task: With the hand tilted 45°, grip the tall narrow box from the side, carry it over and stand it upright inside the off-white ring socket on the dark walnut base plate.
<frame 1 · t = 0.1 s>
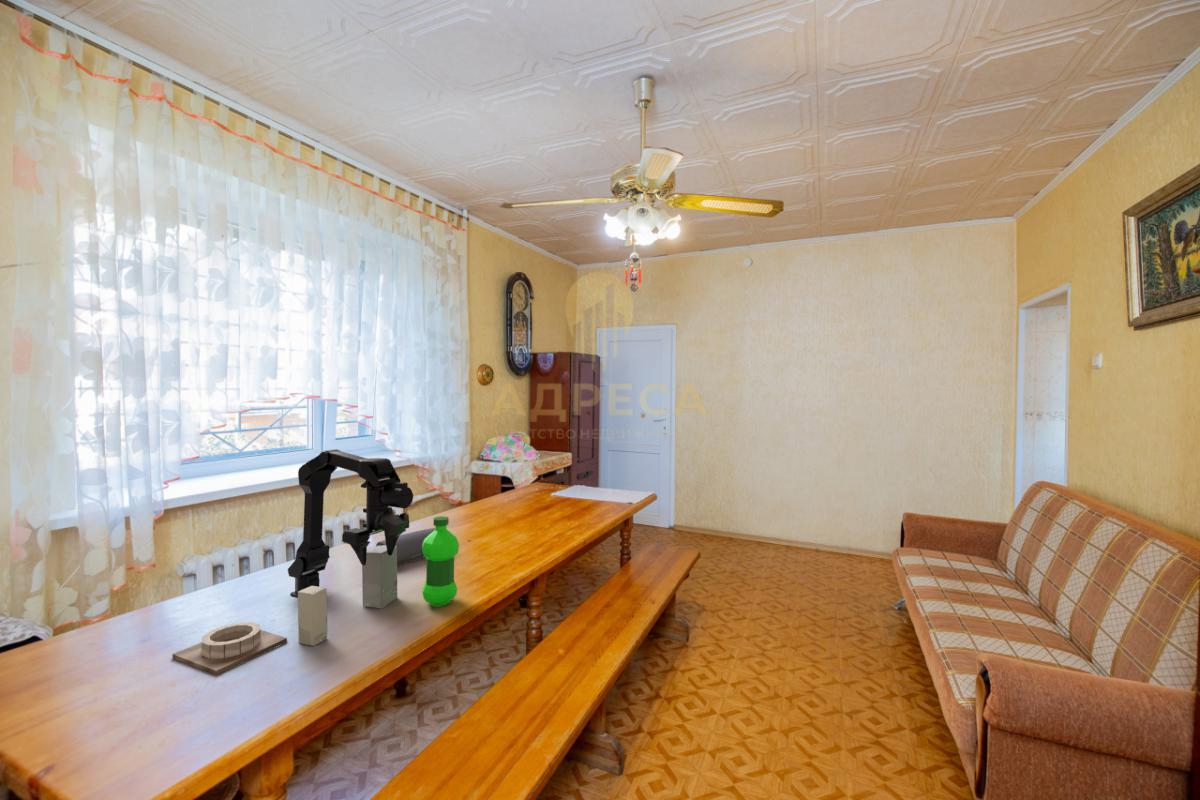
hand: (377, 560, 142), 15 cm above the table, tool pointing down, fingers open, 9 cm apart
box: (312, 641, 126), on the table
bluetooth speaker: (409, 561, 185), on the table
plastic bottle: (439, 603, 149), on the table
ring socket: (231, 649, 121), on the table
skincare box: (379, 602, 149), on the table
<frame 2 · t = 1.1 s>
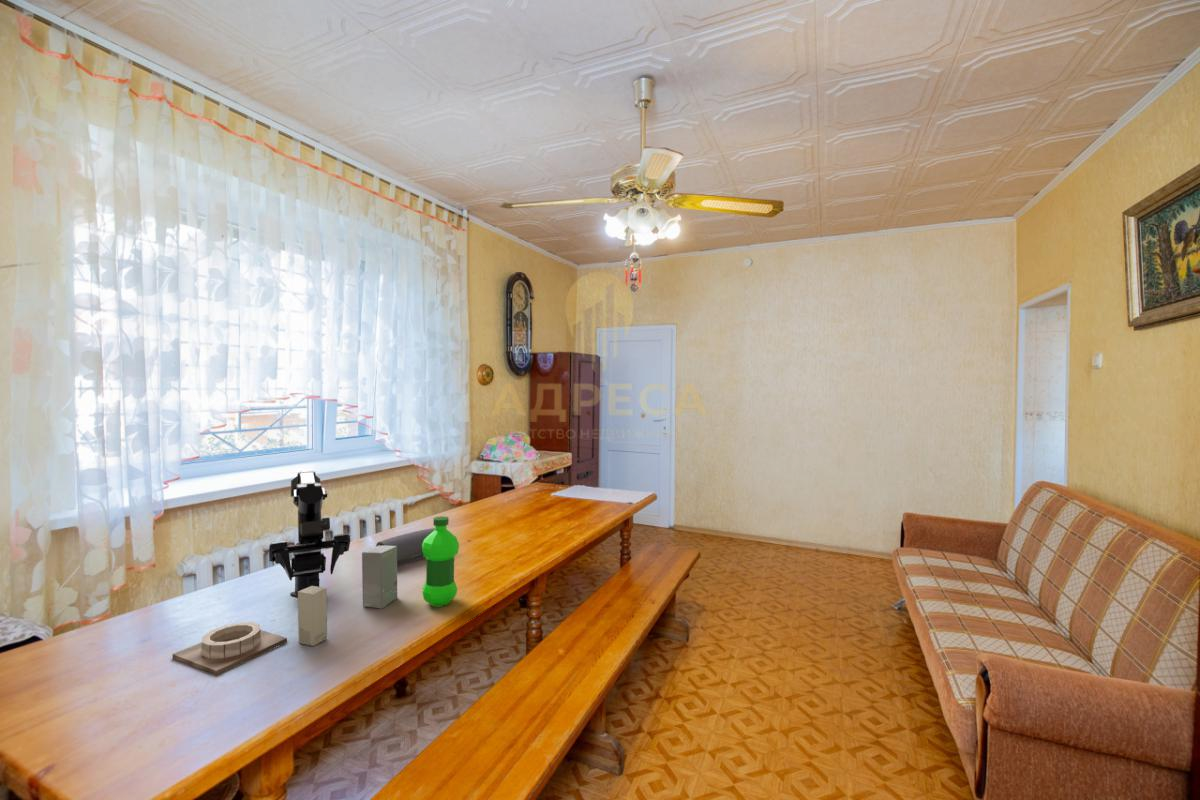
hand: (311, 576, 132), 13 cm above the table, tool tilted 45°, fingers open, 9 cm apart
nothing on the table moved.
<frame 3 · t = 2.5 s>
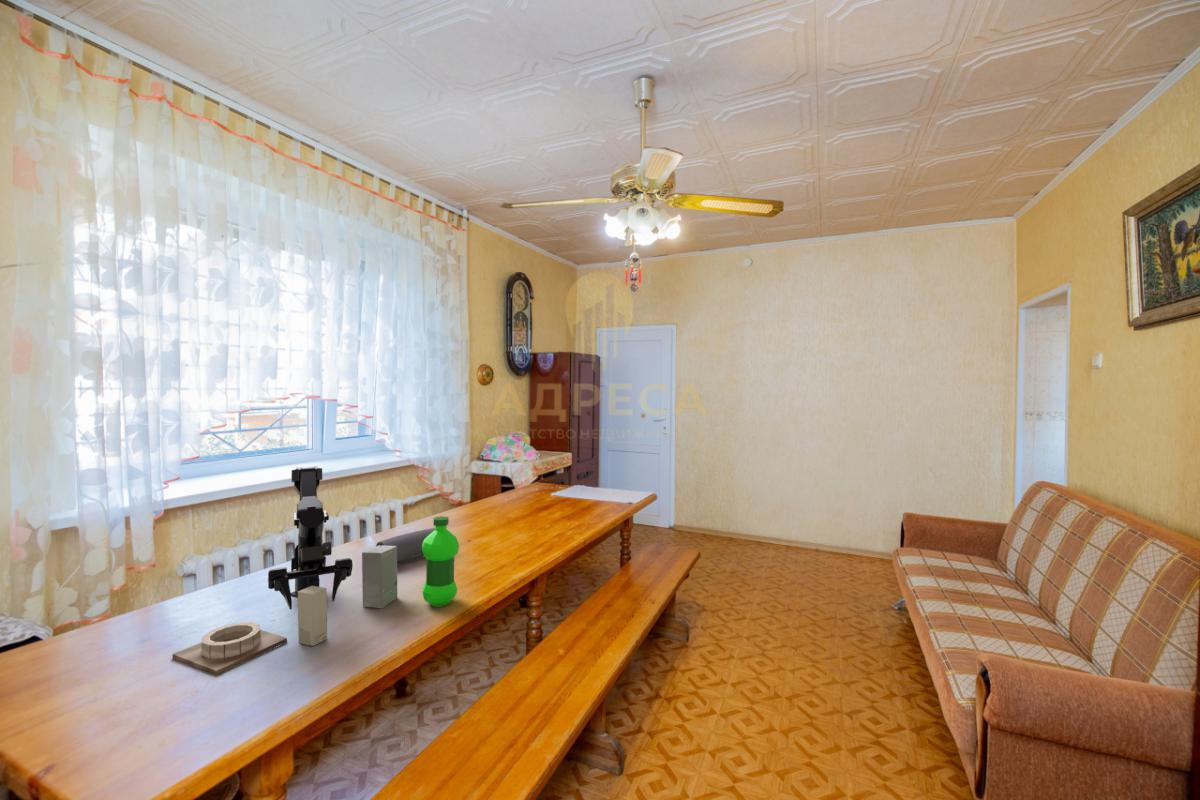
hand: (312, 604, 127), 9 cm above the table, tool tilted 45°, fingers open, 9 cm apart
nothing on the table moved.
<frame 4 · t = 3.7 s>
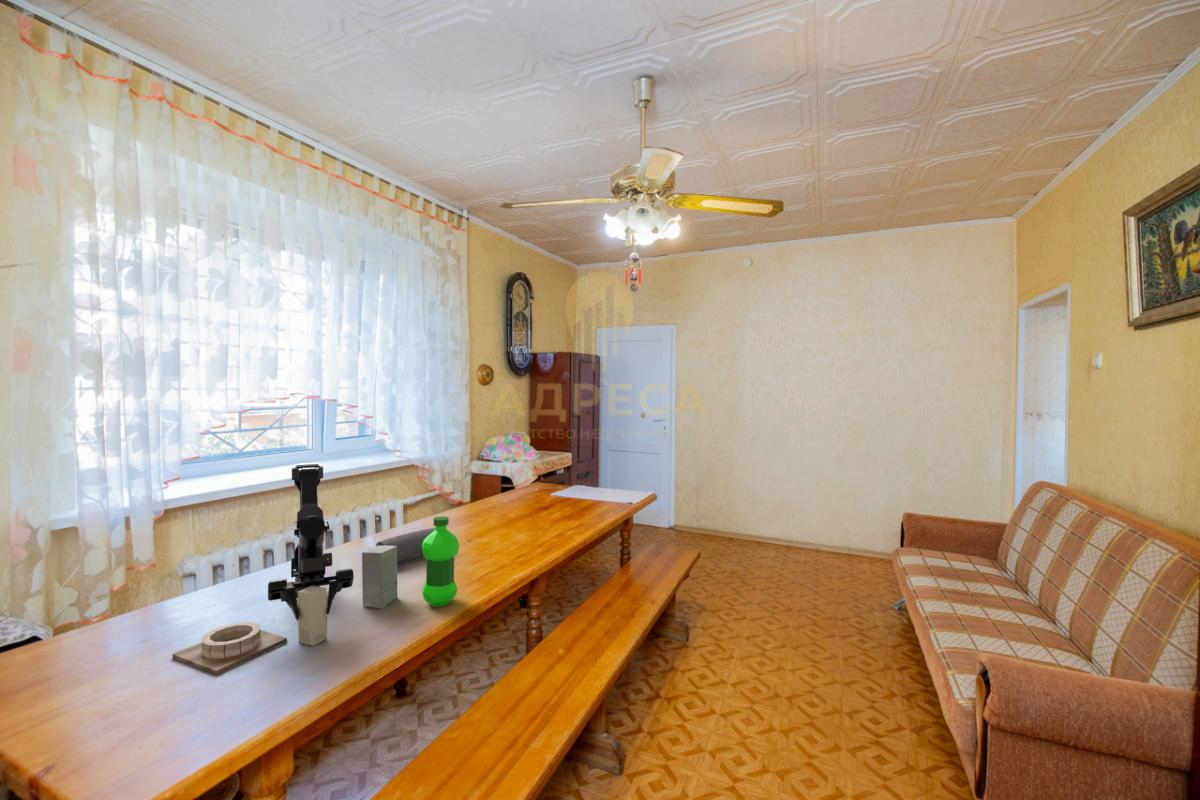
hand: (313, 616, 124), 7 cm above the table, tool tilted 45°, fingers closed on box, 6 cm apart
box: (312, 641, 126), on the table, touching gripper
everything else where it was.
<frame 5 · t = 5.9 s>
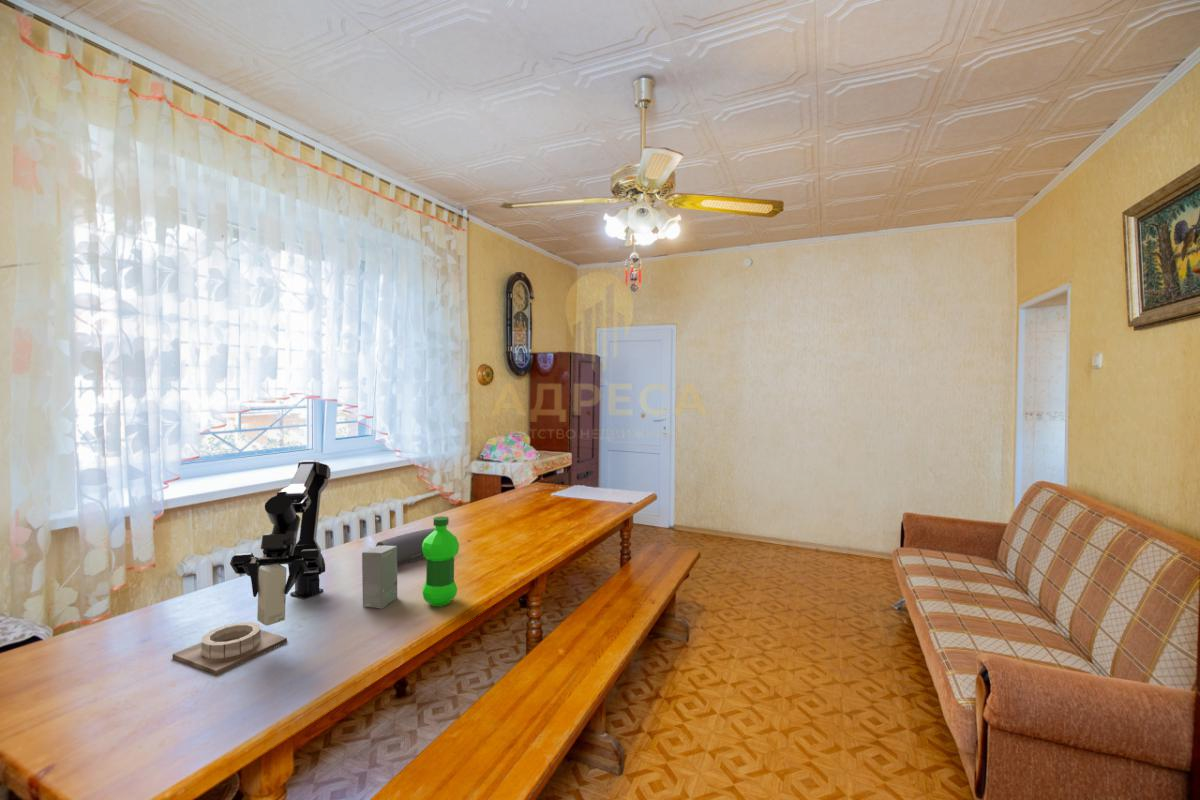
hand: (270, 594, 121), 13 cm above the table, tool tilted 45°, fingers closed on box, 6 cm apart
box: (270, 621, 122), point 6 cm above the table, touching gripper
everything else where it was.
when the fingers open (9 cm above the table, at t = 8.1 s): box stays where it is, resting on ring socket.
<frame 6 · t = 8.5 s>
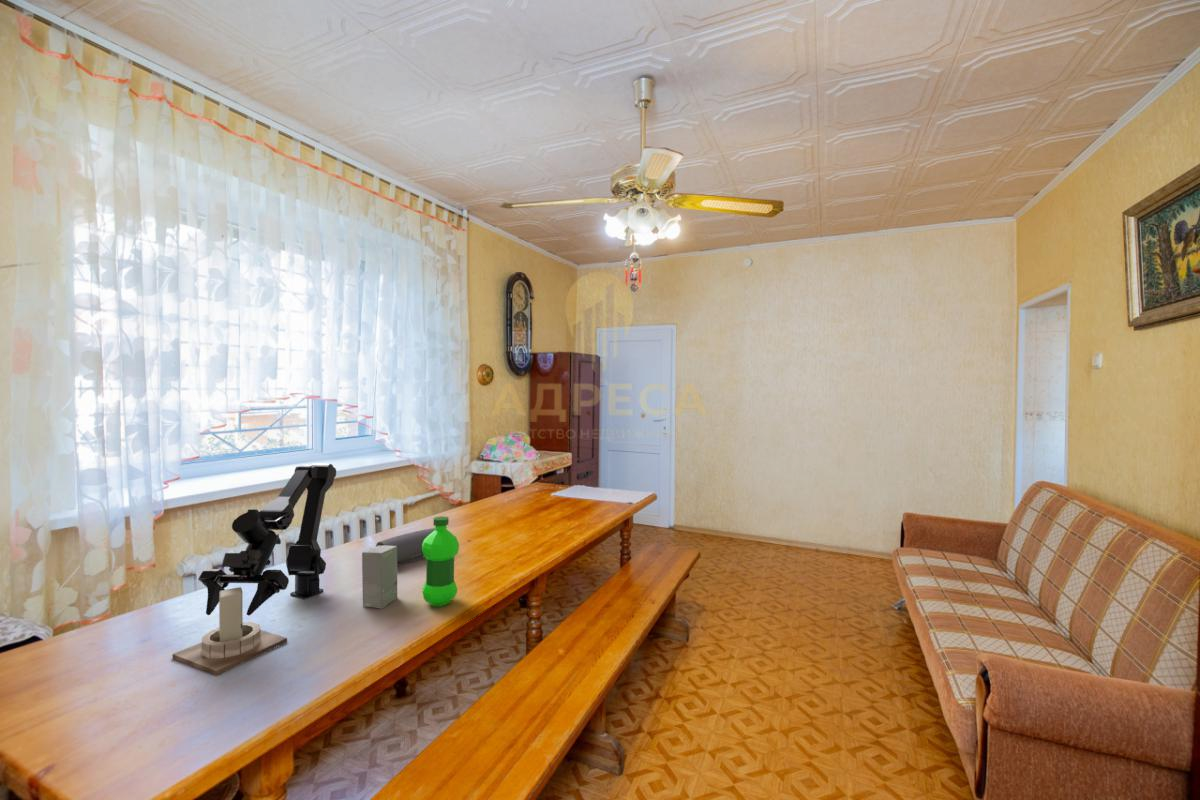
hand: (227, 614, 119), 9 cm above the table, tool tilted 45°, fingers open, 9 cm apart
box: (230, 646, 121), point 1 cm above the table, touching ring socket
everything else where it was.
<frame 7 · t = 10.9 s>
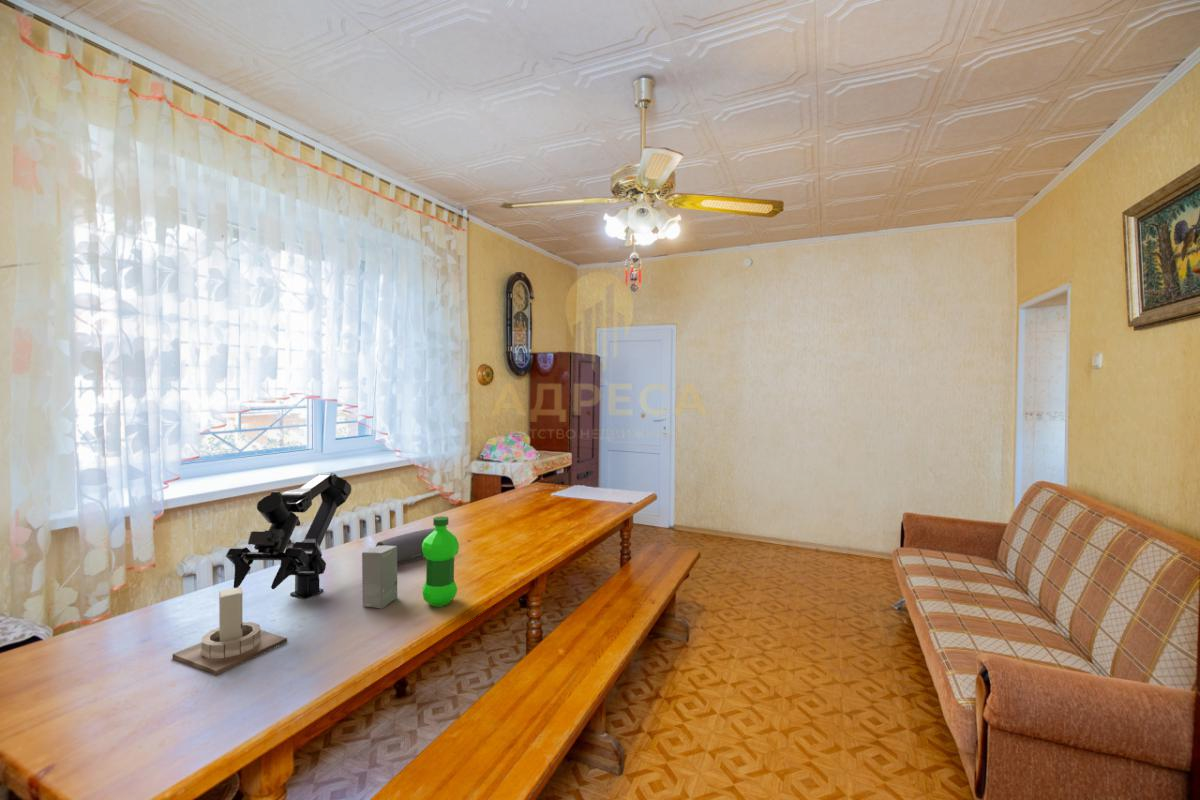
hand: (253, 588, 128), 12 cm above the table, tool tilted 45°, fingers open, 9 cm apart
nothing on the table moved.
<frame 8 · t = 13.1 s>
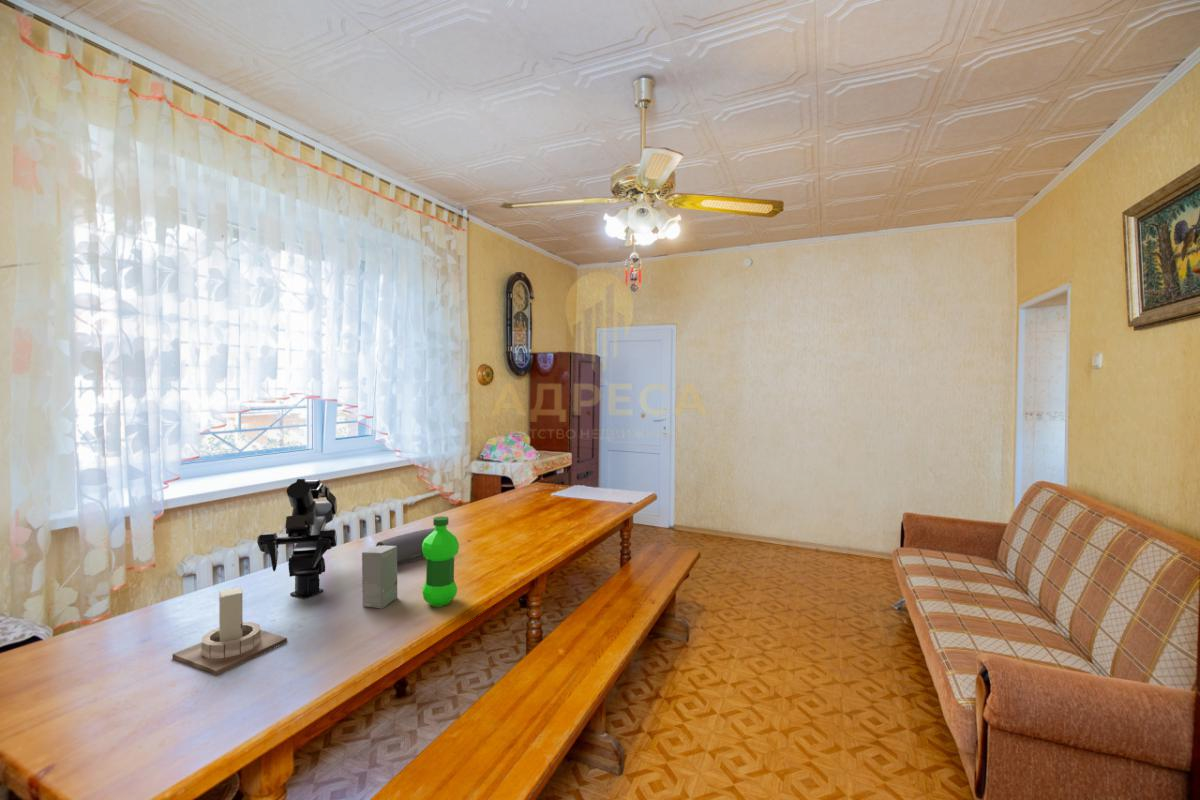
hand: (293, 568, 137), 14 cm above the table, tool tilted 45°, fingers open, 9 cm apart
nothing on the table moved.
at the end: box 0.4 cm off-centre on the ring socket, point 0.8 cm above the ring socket's base; box tilted 0°; the gripper is holding nothing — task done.
